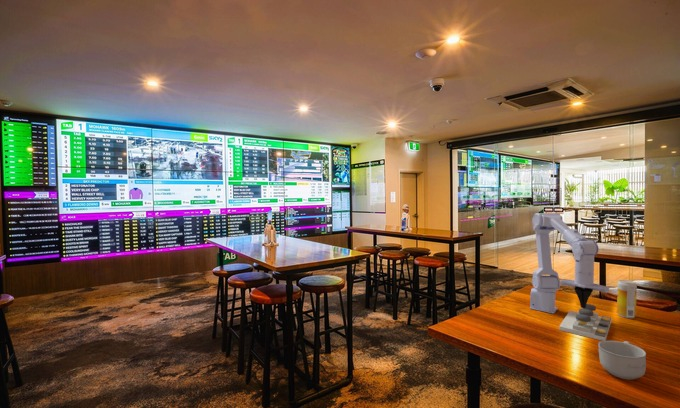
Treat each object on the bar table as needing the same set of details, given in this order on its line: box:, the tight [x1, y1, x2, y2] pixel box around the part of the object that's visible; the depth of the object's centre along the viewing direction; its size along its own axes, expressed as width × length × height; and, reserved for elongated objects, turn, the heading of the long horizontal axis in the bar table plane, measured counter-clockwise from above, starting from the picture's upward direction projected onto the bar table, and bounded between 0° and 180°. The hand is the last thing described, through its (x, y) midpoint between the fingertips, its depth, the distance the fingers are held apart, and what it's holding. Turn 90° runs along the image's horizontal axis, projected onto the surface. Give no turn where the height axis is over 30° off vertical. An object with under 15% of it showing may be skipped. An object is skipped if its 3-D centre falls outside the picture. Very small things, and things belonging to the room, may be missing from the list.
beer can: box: [616, 279, 638, 319], centre depth 139 cm, size 6×6×15 cm
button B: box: [578, 308, 594, 316], centre depth 130 cm, size 5×5×3 cm
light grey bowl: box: [597, 340, 647, 381], centre depth 98 cm, size 14×11×8 cm
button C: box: [582, 303, 597, 312], centre depth 135 cm, size 5×5×3 cm
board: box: [558, 310, 612, 342], centre depth 130 cm, size 14×22×3 cm, turn 136°
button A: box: [576, 314, 591, 325], centre depth 125 cm, size 5×5×3 cm
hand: (583, 307), depth 124 cm, fingers closed
